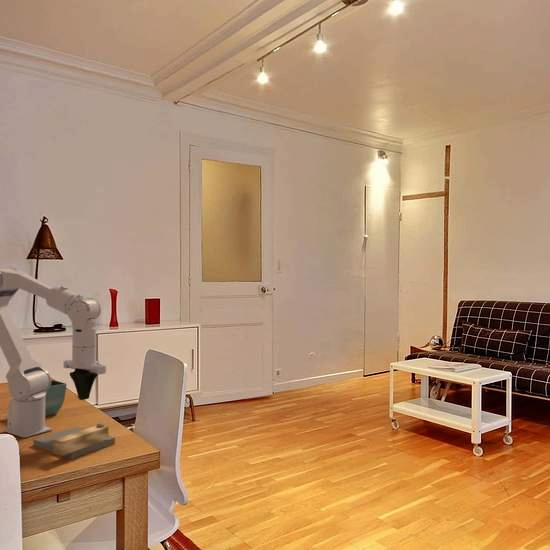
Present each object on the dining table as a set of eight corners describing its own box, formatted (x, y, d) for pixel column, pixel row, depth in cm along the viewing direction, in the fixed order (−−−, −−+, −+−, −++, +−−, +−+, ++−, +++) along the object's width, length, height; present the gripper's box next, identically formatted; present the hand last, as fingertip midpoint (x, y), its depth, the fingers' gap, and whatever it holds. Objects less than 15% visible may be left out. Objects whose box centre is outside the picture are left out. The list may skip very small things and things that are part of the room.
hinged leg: (99, 436, 123) (99, 422, 123) (108, 438, 122) (108, 424, 122) (53, 453, 112) (53, 436, 112) (62, 455, 111) (62, 439, 111)
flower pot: (52, 408, 155) (52, 379, 155) (67, 413, 149) (67, 383, 149) (23, 414, 148) (23, 383, 148) (37, 420, 142) (37, 388, 142)
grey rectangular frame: (33, 445, 122) (33, 438, 122) (76, 432, 132) (76, 426, 132) (71, 458, 114) (71, 451, 114) (114, 443, 124) (114, 437, 124)
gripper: (115, 346, 129) (115, 399, 129) (80, 341, 137) (79, 392, 137) (92, 350, 123) (91, 405, 123) (56, 344, 131) (56, 397, 131)
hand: (83, 399), depth 129 cm, fingers closed
